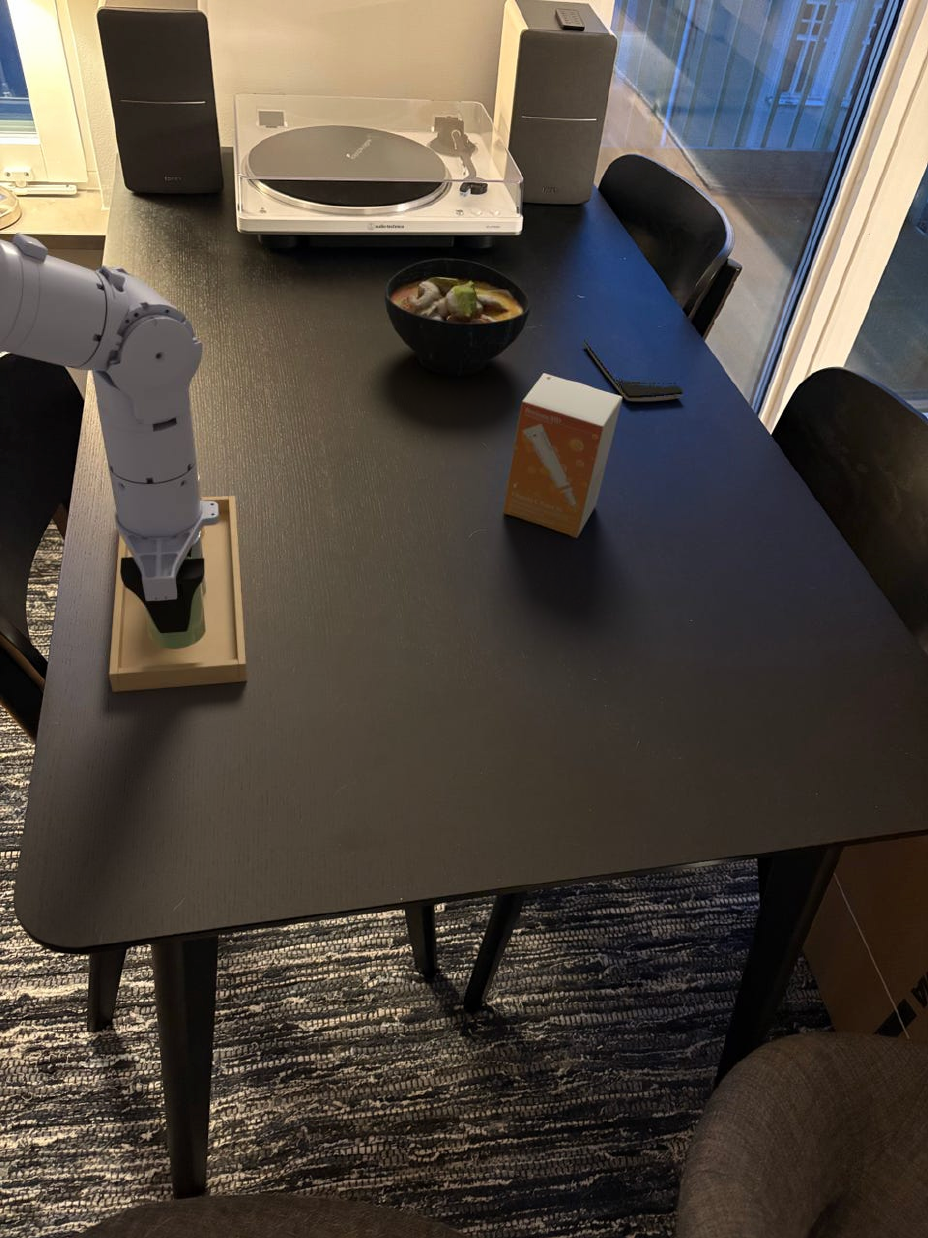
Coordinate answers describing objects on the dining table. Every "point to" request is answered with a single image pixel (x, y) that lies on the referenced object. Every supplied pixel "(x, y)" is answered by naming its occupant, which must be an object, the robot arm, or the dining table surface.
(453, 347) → the bowl
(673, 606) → the dining table surface
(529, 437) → the small box
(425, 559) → the dining table surface
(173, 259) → the dining table surface
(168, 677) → the tray
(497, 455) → the dining table surface
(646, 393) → the laptop
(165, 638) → the sage bottle
